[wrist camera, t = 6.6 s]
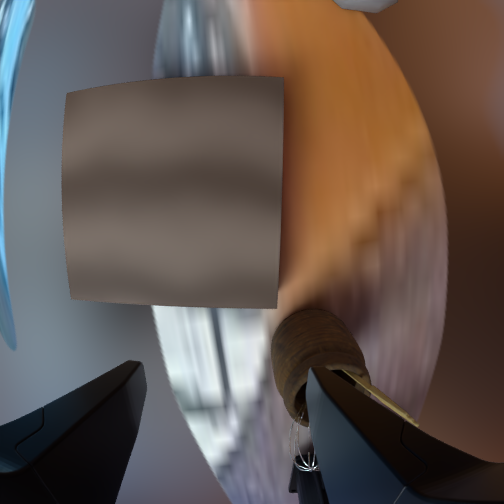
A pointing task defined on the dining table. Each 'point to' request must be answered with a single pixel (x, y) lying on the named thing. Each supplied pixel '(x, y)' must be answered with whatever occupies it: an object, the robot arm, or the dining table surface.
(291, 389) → the utensil holder
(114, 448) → the robot arm
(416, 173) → the dining table surface
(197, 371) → the dining table surface
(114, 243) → the walnut plinth
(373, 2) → the flask
